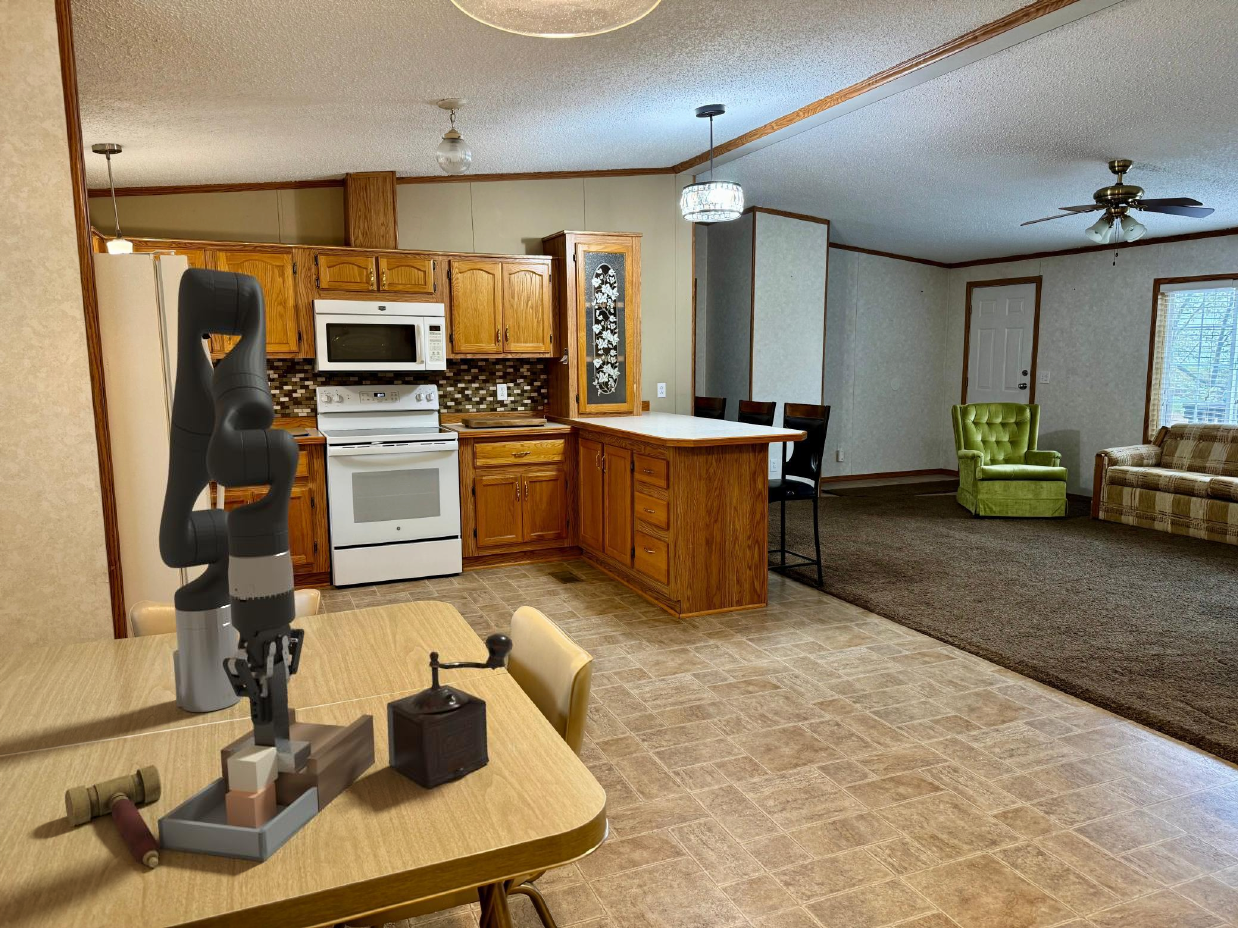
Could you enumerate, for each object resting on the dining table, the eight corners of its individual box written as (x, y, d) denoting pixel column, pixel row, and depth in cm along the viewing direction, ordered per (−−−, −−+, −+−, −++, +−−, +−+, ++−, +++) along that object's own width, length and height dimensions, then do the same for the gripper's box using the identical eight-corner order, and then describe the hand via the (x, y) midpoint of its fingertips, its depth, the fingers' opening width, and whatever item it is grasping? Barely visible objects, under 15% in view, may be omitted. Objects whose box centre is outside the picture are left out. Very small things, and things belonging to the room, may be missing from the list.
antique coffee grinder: (429, 792, 111) (424, 661, 109) (386, 765, 118) (381, 643, 116) (521, 753, 122) (518, 633, 120) (476, 731, 129) (472, 618, 127)
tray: (159, 847, 98) (157, 819, 98) (222, 802, 109) (220, 776, 108) (264, 861, 95) (262, 832, 95) (318, 813, 106) (316, 786, 105)
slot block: (223, 801, 109) (220, 749, 108) (288, 753, 123) (285, 707, 122) (319, 811, 106) (316, 759, 105) (375, 761, 119) (372, 715, 119)
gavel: (201, 829, 97) (102, 863, 90) (202, 864, 98) (104, 901, 91) (151, 758, 112) (63, 784, 105) (153, 790, 113) (65, 817, 106)
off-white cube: (229, 789, 103) (227, 758, 102) (250, 774, 107) (248, 744, 106) (257, 792, 102) (255, 761, 101) (278, 777, 106) (276, 747, 105)
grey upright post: (235, 766, 107) (228, 665, 106) (253, 754, 111) (247, 656, 109) (295, 773, 105) (288, 669, 104) (311, 760, 109) (305, 660, 107)
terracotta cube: (248, 809, 106) (227, 825, 102) (246, 779, 105) (225, 794, 102) (276, 812, 105) (256, 829, 101) (274, 782, 105) (254, 797, 101)
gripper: (270, 572, 113) (278, 695, 115) (196, 600, 99) (206, 739, 101) (320, 574, 111) (327, 699, 113) (252, 603, 98) (261, 744, 100)
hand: (270, 717), depth 107 cm, fingers closed on grey upright post, 3 cm apart
